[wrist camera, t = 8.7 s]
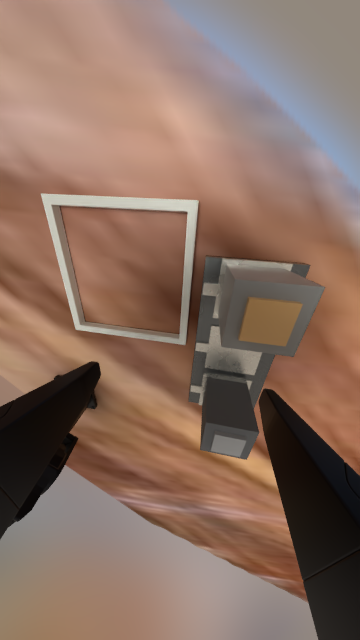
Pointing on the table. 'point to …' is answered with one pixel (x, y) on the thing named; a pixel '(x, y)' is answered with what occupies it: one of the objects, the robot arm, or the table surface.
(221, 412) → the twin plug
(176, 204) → the white square frame
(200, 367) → the strip
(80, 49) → the table surface
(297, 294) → the plug
